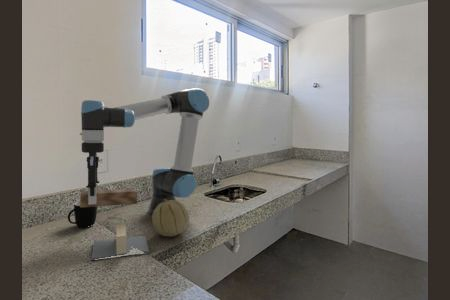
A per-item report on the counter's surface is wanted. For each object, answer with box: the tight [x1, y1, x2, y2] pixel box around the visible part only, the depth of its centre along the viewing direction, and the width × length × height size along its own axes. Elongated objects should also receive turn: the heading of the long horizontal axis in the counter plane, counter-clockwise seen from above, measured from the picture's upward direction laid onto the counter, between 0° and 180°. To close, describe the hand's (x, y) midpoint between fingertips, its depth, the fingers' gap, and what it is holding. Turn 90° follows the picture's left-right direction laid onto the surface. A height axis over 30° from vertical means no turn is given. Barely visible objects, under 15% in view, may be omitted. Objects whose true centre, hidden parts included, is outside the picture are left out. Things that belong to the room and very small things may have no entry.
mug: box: [67, 201, 98, 228], centre depth 114 cm, size 12×9×10 cm
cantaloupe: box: [151, 199, 190, 238], centre depth 108 cm, size 15×15×15 cm
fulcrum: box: [90, 222, 150, 261], centre depth 95 cm, size 18×14×7 cm
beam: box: [79, 188, 138, 208], centre depth 104 cm, size 20×5×5 cm, turn 113°
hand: (93, 202), depth 102 cm, fingers closed on beam, 5 cm apart
